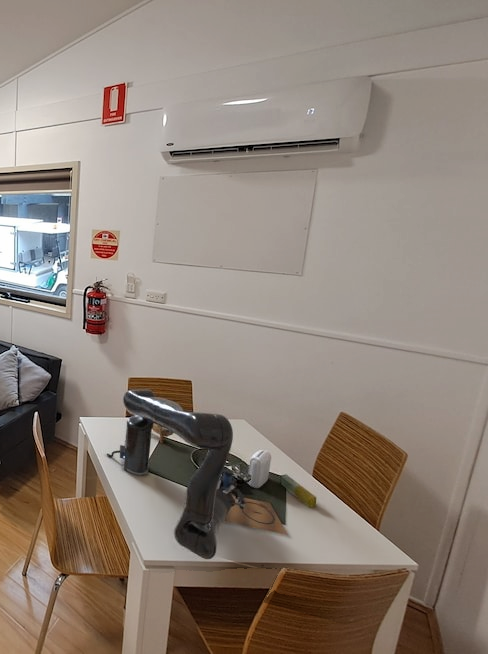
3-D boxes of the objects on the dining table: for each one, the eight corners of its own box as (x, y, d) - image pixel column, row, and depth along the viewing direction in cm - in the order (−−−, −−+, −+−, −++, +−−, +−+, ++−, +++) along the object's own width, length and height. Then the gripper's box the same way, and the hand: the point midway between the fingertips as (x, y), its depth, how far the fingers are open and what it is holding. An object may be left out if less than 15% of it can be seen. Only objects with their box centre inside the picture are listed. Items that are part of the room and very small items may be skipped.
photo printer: (256, 473, 147) (261, 445, 144) (269, 479, 143) (274, 450, 141) (244, 483, 141) (249, 454, 139) (257, 490, 138) (262, 460, 135)
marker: (220, 503, 126) (225, 472, 124) (218, 498, 128) (223, 467, 126) (229, 505, 125) (234, 474, 123) (227, 500, 128) (231, 469, 125)
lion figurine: (174, 442, 166) (176, 423, 165) (170, 447, 163) (172, 428, 161) (142, 428, 177) (143, 410, 175) (137, 432, 173) (138, 415, 171)
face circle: (246, 519, 124) (246, 519, 124) (236, 499, 133) (236, 499, 133) (279, 527, 121) (279, 526, 121) (267, 505, 130) (267, 505, 130)
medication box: (279, 484, 141) (279, 474, 140) (286, 483, 141) (286, 473, 140) (309, 508, 129) (310, 498, 128) (317, 507, 129) (317, 497, 129)
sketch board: (216, 520, 124) (216, 519, 124) (204, 487, 139) (204, 486, 139) (287, 536, 118) (288, 534, 118) (267, 499, 133) (267, 498, 133)
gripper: (241, 509, 110) (254, 481, 122) (190, 484, 120) (207, 460, 132) (237, 531, 112) (251, 500, 123) (188, 504, 122) (205, 479, 133)
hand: (228, 480), depth 128 cm, fingers closed on marker, 2 cm apart
